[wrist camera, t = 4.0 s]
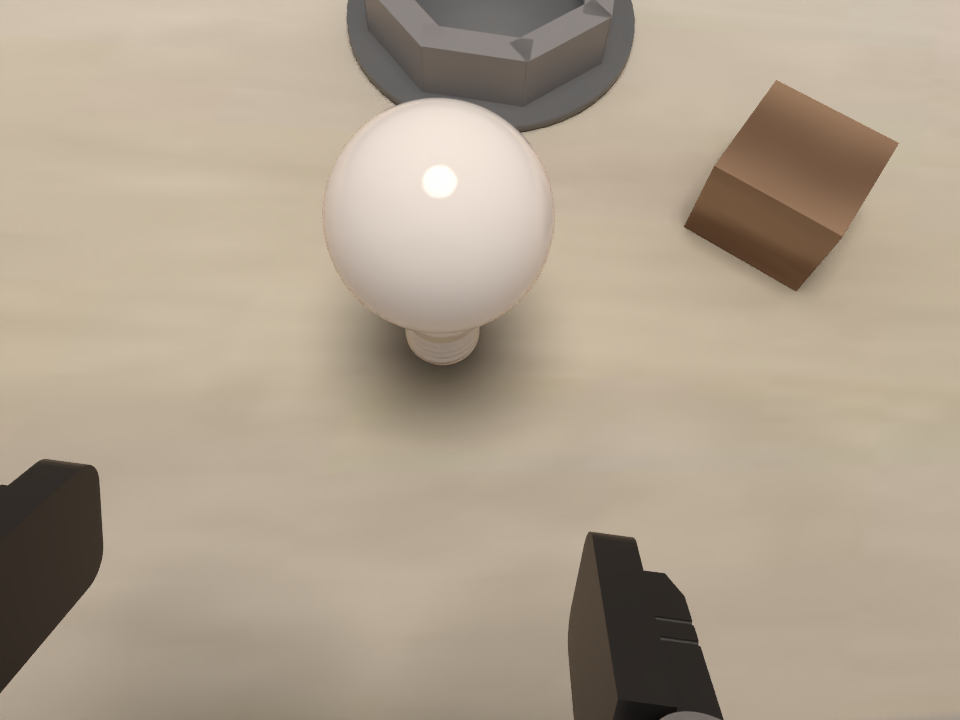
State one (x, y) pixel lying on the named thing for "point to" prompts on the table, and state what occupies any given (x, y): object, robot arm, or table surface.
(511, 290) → the lightbulb
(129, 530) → the table surface
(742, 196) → the walnut block
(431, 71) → the socket collar
